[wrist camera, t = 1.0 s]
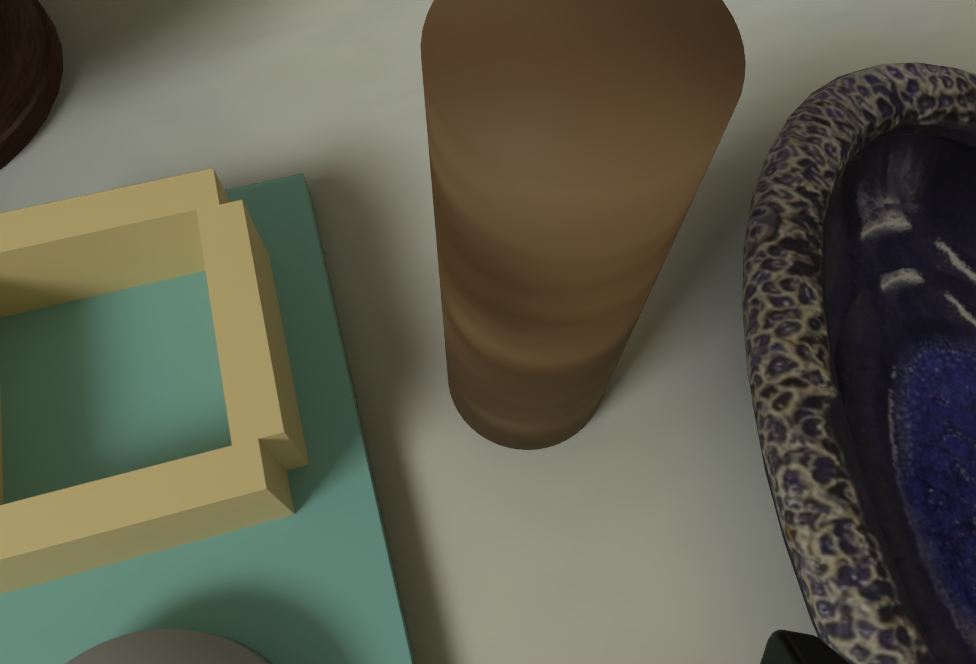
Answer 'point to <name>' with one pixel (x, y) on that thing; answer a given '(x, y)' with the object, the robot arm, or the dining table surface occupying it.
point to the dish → (872, 358)
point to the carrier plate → (183, 437)
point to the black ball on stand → (26, 73)
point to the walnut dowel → (562, 188)
